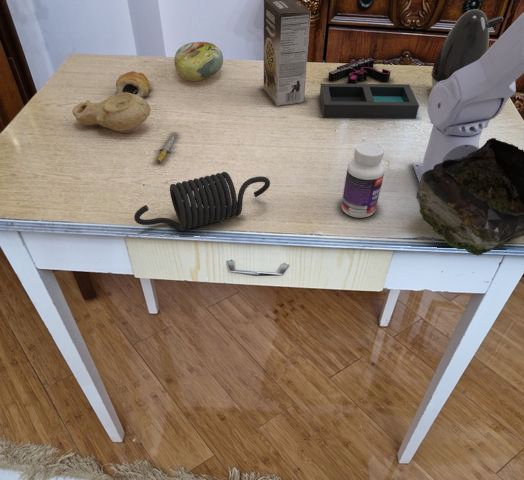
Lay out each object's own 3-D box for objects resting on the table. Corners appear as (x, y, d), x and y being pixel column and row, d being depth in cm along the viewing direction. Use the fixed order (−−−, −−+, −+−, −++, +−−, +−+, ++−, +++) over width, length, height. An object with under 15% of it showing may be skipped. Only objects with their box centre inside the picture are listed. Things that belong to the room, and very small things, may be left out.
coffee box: (262, 88, 100) (262, -2, 87) (290, 85, 101) (294, -5, 89) (275, 106, 94) (278, 12, 82) (305, 102, 96) (312, 9, 83)
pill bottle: (374, 220, 70) (388, 160, 62) (339, 216, 71) (348, 156, 63) (376, 201, 73) (389, 141, 66) (342, 197, 74) (352, 137, 66)
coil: (264, 204, 75) (272, 241, 70) (137, 201, 71) (135, 239, 66) (270, 164, 69) (279, 201, 64) (132, 158, 65) (130, 197, 60)
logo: (366, 56, 108) (400, 69, 103) (365, 64, 109) (398, 77, 104) (325, 70, 102) (358, 85, 97) (324, 78, 103) (357, 93, 99)
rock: (431, 209, 56) (398, 256, 65) (584, 249, 57) (530, 290, 66) (437, 110, 63) (406, 164, 73) (572, 147, 64) (525, 196, 74)
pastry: (122, 82, 102) (118, 63, 99) (153, 82, 102) (150, 63, 99) (116, 100, 96) (111, 80, 93) (148, 100, 96) (145, 80, 93)
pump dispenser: (479, 107, 95) (510, 20, 83) (427, 103, 96) (451, 16, 84) (473, 87, 101) (501, 3, 89) (425, 83, 102) (446, 0, 90)
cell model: (172, 78, 98) (165, 26, 102) (186, 106, 105) (179, 56, 110) (219, 61, 96) (210, 9, 100) (231, 90, 103) (222, 40, 108)
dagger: (169, 131, 86) (179, 134, 86) (169, 136, 87) (179, 138, 87) (152, 157, 79) (164, 160, 80) (152, 162, 80) (164, 165, 80)
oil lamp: (80, 123, 91) (67, 99, 87) (149, 101, 91) (139, 75, 87) (85, 154, 85) (71, 129, 81) (158, 130, 86) (148, 104, 82)
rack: (415, 118, 91) (419, 105, 90) (323, 117, 92) (324, 104, 90) (406, 96, 98) (409, 84, 96) (319, 96, 98) (320, 83, 96)
